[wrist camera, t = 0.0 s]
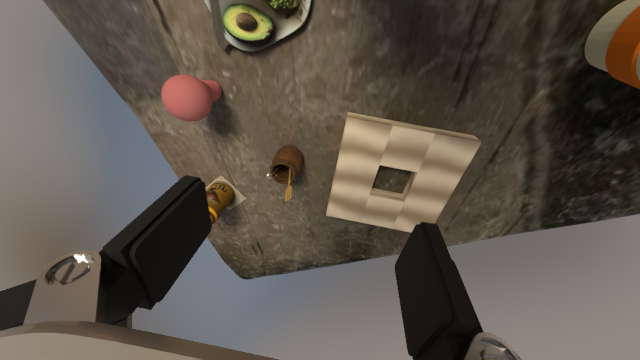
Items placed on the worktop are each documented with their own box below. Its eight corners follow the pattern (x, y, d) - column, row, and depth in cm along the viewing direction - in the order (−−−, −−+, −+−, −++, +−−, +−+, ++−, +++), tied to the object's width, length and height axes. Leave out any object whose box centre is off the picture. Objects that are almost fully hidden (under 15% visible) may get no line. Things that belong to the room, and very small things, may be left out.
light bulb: (207, 57, 42) (162, 68, 32) (239, 88, 44) (205, 107, 35) (189, 85, 45) (142, 102, 36) (219, 113, 48) (183, 136, 38)
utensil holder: (289, 139, 49) (272, 168, 39) (310, 159, 51) (299, 192, 41) (271, 155, 52) (251, 186, 42) (292, 174, 54) (277, 207, 44)
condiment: (220, 174, 57) (191, 206, 47) (247, 197, 60) (225, 232, 50) (204, 188, 60) (174, 221, 50) (229, 210, 63) (206, 244, 53)
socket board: (347, 112, 44) (347, 117, 42) (474, 135, 44) (481, 142, 41) (327, 207, 58) (325, 215, 55) (424, 226, 57) (427, 235, 55)
